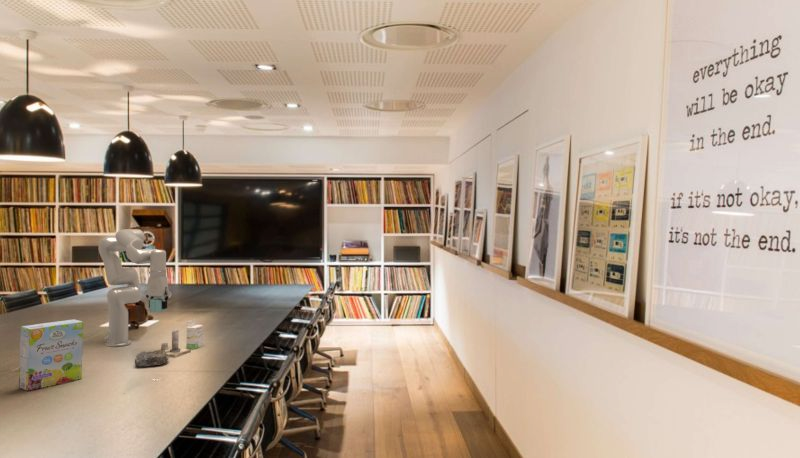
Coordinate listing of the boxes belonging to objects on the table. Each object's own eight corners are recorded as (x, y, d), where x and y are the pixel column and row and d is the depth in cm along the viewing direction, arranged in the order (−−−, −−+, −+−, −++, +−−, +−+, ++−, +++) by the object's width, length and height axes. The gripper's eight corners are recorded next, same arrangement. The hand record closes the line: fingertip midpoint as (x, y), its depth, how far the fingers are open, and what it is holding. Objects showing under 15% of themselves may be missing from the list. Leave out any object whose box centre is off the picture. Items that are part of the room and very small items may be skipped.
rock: (134, 369, 251) (169, 367, 257) (134, 356, 250) (169, 354, 257) (134, 362, 262) (168, 360, 269) (135, 349, 262) (168, 347, 268)
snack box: (28, 392, 216) (28, 328, 215) (18, 388, 220) (18, 326, 220) (83, 379, 234) (84, 320, 234) (73, 375, 239) (73, 318, 238)
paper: (127, 377, 239) (127, 375, 239) (168, 374, 246) (169, 371, 246) (122, 395, 216) (122, 392, 216) (169, 390, 223) (169, 388, 223)
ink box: (194, 349, 289) (194, 322, 288) (186, 348, 290) (186, 321, 289) (203, 345, 297) (203, 319, 297) (195, 345, 298) (195, 318, 298)
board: (149, 354, 276) (149, 331, 276) (164, 349, 288) (165, 327, 288) (175, 357, 272) (175, 333, 272) (190, 351, 284) (190, 329, 283)
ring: (146, 311, 273) (146, 299, 273) (157, 309, 280) (157, 297, 280) (158, 312, 271) (158, 300, 271) (168, 310, 278) (168, 298, 278)
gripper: (138, 274, 274) (138, 308, 274) (166, 275, 269) (166, 310, 269) (149, 272, 281) (149, 306, 282) (177, 273, 276) (177, 308, 276)
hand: (158, 308), depth 275 cm, fingers closed on ring, 7 cm apart
